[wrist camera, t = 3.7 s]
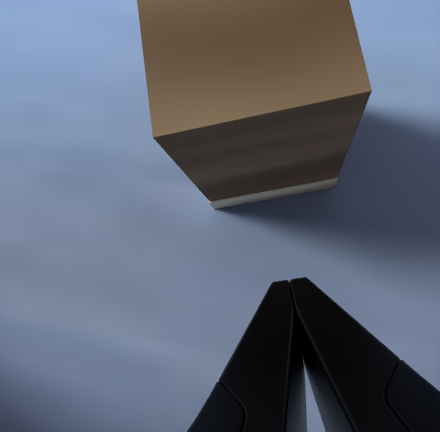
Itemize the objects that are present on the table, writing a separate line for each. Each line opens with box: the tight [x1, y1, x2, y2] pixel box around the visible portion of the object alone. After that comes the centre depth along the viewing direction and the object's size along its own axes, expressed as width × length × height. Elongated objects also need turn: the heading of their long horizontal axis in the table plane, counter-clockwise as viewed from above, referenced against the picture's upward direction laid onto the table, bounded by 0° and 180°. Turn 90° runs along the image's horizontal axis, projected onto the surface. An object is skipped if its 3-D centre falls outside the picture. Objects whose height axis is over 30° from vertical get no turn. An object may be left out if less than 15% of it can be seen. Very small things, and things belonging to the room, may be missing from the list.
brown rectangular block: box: [137, 0, 372, 209], centre depth 13 cm, size 4×5×8 cm
